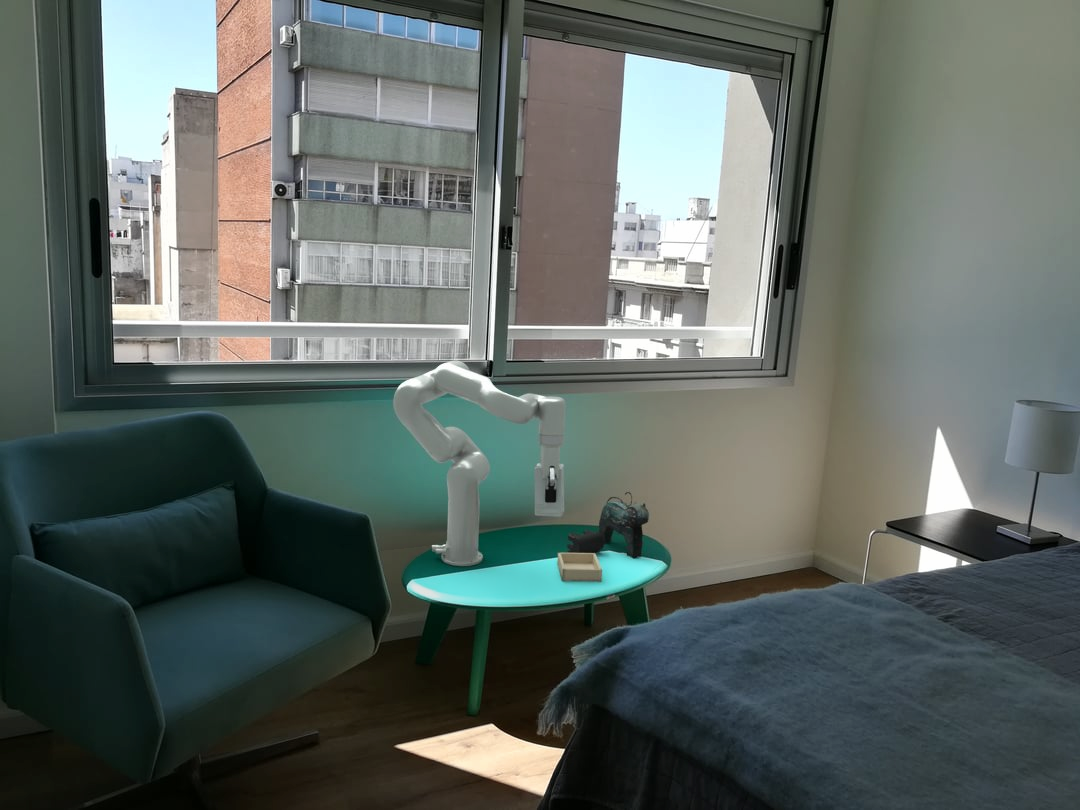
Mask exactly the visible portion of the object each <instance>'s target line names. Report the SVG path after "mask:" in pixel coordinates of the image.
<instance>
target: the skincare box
mask: <svg viewBox="0 0 1080 810" xmlns="http://www.w3.org/2000/svg"><path fill="white" fill-rule="evenodd" d="M549 471H550V468H549ZM533 472H534V477H533V478H534V479H533V480H534V515H535V516H539V517H540V516H541V517H556V518H557V517H558V518H562V516H563V514H564V512H565V464H564V463H559V477H558V479H557V480H556V502H555V503H546V502H545V489H546V479H544V480H543V479H542V478H541V465H540V463H539V462H538V463H537V464H536V465H535V467H534V471H533ZM554 477H555V475H554ZM556 477H557V476H556ZM548 478H549V479H550V477H548ZM549 482H550V481H548V483H549Z"/></svg>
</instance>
